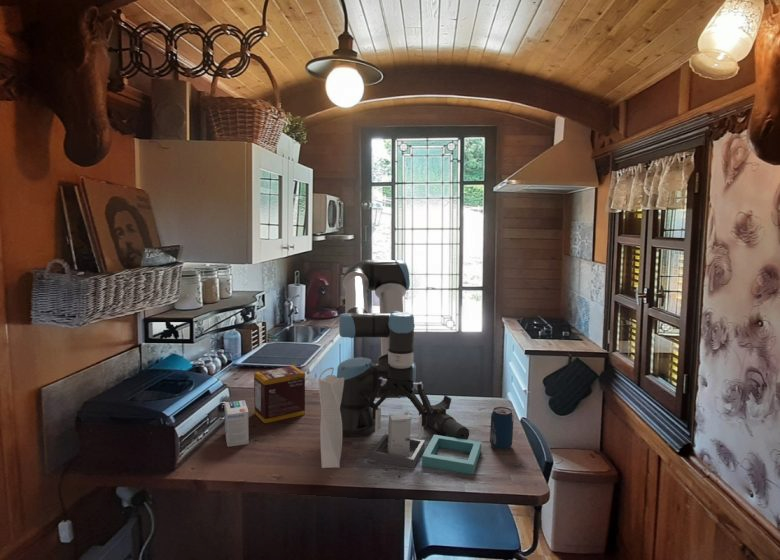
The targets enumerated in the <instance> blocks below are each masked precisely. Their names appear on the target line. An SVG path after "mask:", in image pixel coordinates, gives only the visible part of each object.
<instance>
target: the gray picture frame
mask: <svg viewBox="0 0 780 560" xmlns="http://www.w3.org/2000/svg"><path fill="white" fill-rule="evenodd" d="M425 444H426V441H425V440H423V439H420V438H419V439H417V438H414V437H413V438H412V437H410V448H412V449H413V448H414V449H415V450H414V452H413V453H412V456H407V457H406V456H400V455H395V454H389V453H388V452H382V451H383V450H384V449H385V447H386V446H387V445H388V433H385V434H384V435H383V437H382V438H381V439H380V440H379V441H378V443H377V444H376V446H375V447H374V448H373V449H372V451H371V452H370V453H371V455H370V456H371V457H370V458H371V461H375V462H381V463H386V464H392V465H397V466H403V467H408V468H414V467H415V465H416V464H417V462H418V460H419V459H420V457H421V456H422V453H424V451H425V447H426V445H425Z"/></svg>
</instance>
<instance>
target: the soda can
mask: <svg viewBox="0 0 780 560" xmlns="http://www.w3.org/2000/svg"><path fill="white" fill-rule="evenodd" d="M489 431H490V432H489V433H490V434H489V443H490V445H491V447H492V448H493V449H495V450H497V451H508V450H510V448H511V447H512V445H513V437H514V414H513V410H512V409H511V408H508V407H506V406H505V407H504V406H496V407H494V408H493V410H492V412H491V415H490V430H489Z"/></svg>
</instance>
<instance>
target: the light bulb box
mask: <svg viewBox="0 0 780 560" xmlns="http://www.w3.org/2000/svg"><path fill="white" fill-rule="evenodd" d="M246 403H247V402H246V400H243V399H242V400H235V401H227V402H223V404H224V435H225V440H226V445H227V447H228V448H229V447H235V446H236V447H237V446H244V445H248V444H249V443H250V442H249V439H250V438H249V409H248V405H247V404H246Z"/></svg>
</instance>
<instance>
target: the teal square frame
mask: <svg viewBox="0 0 780 560" xmlns="http://www.w3.org/2000/svg"><path fill="white" fill-rule="evenodd" d="M440 448H442V449H447V450H452V451H459V452H465V453H466V452H467V453H469V456H468V458H467V459H463V458H462V459H461V458H455V457H449V456H444V455H440V454H439V455H438V454H436V453H437V450H438V449H440ZM481 452H482V441H477V440H472V439H467V440H465V439H459V438H453V437H448V436H446V435H445V436H444V435H440V434H439V435H438V434H433V436H432V437H431V440H430V441H429V443H428V444H427V447H426V449H424V451H423V452H422V453H423V454H421V466H422V467H428V468H434V469H440V470H445V471H451V472H456V473H461V474H466V475H467V474H468V475H472V476H473V475H474V473H475V470H476V467H477V464H478V460H479V458H480V455H481Z"/></svg>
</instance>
